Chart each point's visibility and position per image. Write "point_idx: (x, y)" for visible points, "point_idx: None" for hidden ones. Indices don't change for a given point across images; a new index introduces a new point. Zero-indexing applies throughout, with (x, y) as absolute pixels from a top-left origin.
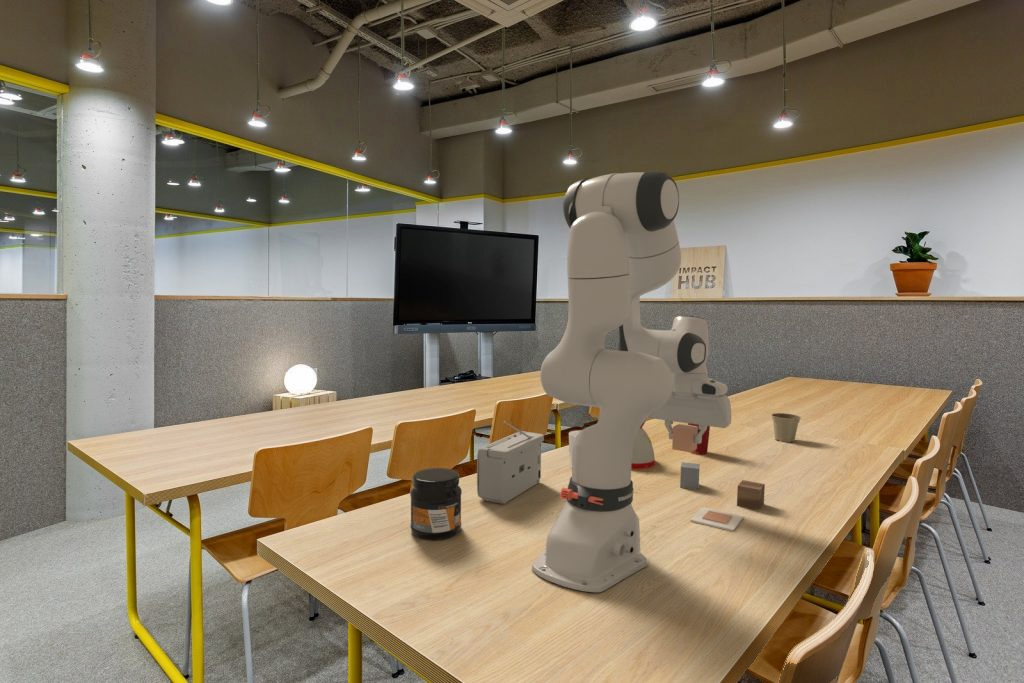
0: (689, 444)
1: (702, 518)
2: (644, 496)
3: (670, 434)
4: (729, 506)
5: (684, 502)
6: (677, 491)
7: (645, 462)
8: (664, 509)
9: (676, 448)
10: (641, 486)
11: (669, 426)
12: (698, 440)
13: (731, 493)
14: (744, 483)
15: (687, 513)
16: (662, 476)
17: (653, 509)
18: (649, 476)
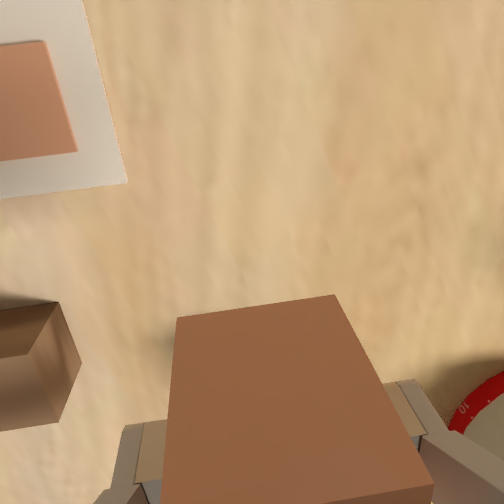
0: (191, 361)
1: (45, 41)
2: (375, 147)
3: (419, 413)
4: (72, 278)
5: (217, 199)
6: (290, 286)
7: (476, 418)
8: (244, 55)
9: (302, 307)
10: (422, 242)
11: (485, 500)
12: (129, 445)
13: (138, 388)
14: (24, 392)
15: (145, 84)
16: (389, 376)
17: (282, 16)
18: (428, 348)
